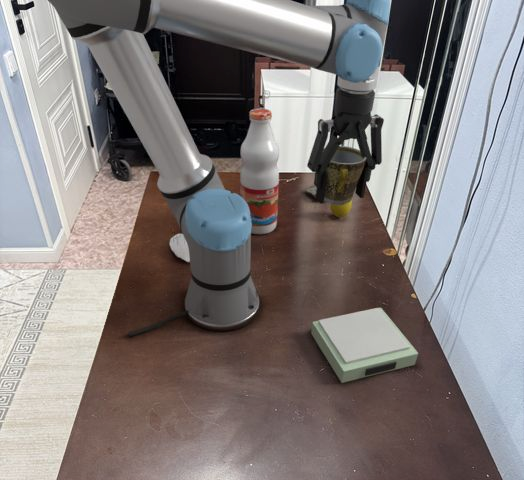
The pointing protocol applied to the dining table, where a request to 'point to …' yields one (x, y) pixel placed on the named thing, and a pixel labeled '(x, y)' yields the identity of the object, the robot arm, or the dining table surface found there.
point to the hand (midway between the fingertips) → (339, 197)
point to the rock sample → (312, 190)
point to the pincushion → (180, 247)
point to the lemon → (341, 209)
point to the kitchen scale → (363, 344)
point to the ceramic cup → (343, 175)
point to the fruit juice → (260, 172)
